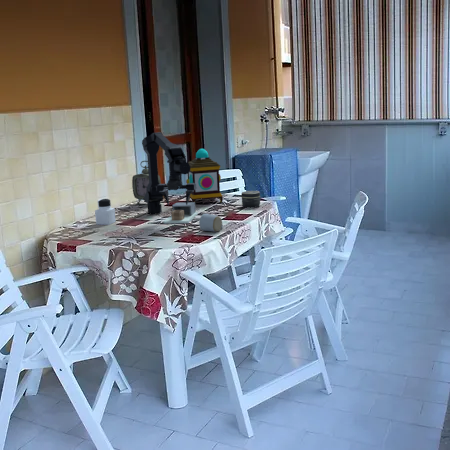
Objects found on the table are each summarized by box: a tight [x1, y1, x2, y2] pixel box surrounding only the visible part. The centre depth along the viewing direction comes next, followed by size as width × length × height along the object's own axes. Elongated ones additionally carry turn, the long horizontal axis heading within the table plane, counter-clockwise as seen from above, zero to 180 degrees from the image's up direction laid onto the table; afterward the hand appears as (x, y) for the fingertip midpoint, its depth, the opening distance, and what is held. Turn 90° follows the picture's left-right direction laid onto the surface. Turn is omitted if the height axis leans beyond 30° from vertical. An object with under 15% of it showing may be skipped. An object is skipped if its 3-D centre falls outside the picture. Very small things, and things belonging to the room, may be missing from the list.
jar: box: [240, 190, 261, 209], centre depth 322 cm, size 10×10×8 cm
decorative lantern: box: [185, 148, 224, 203], centre depth 342 cm, size 20×20×30 cm
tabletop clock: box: [131, 160, 162, 205], centre depth 341 cm, size 14×9×25 cm, turn 58°
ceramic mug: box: [198, 213, 224, 233], centre depth 270 cm, size 11×8×8 cm
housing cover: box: [171, 201, 197, 215], centre depth 305 cm, size 10×9×5 cm
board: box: [163, 211, 199, 225], centre depth 299 cm, size 12×22×4 cm, turn 170°
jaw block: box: [171, 210, 184, 220], centre depth 294 cm, size 5×5×4 cm
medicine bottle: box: [94, 198, 116, 226], centre depth 296 cm, size 7×7×12 cm
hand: (177, 204), depth 292 cm, fingers open, 9 cm apart
